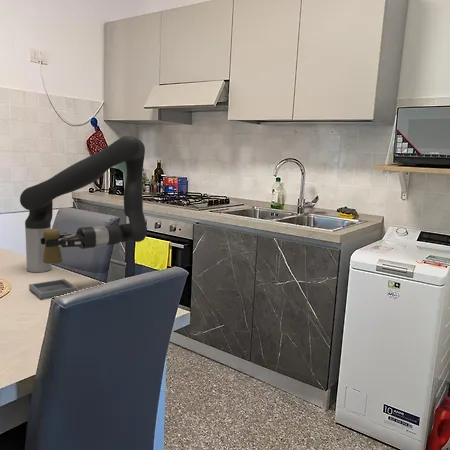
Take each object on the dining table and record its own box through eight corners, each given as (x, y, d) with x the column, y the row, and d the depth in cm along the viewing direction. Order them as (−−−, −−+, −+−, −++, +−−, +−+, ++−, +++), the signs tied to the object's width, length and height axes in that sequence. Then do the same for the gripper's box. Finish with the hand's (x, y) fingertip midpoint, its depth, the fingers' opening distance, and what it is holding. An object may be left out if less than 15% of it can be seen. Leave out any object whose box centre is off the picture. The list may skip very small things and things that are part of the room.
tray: (29, 290, 151) (29, 284, 151) (64, 284, 159) (64, 278, 159) (40, 299, 142) (40, 293, 142) (77, 293, 150) (77, 287, 150)
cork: (55, 264, 145) (54, 231, 144) (39, 262, 147) (37, 230, 145) (65, 259, 151) (64, 228, 149) (49, 258, 152) (48, 227, 151)
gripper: (84, 223, 162) (35, 228, 151) (101, 229, 151) (50, 235, 140) (85, 243, 163) (36, 249, 152) (101, 251, 152) (51, 258, 141)
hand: (43, 242), depth 146 cm, fingers closed on cork, 4 cm apart
